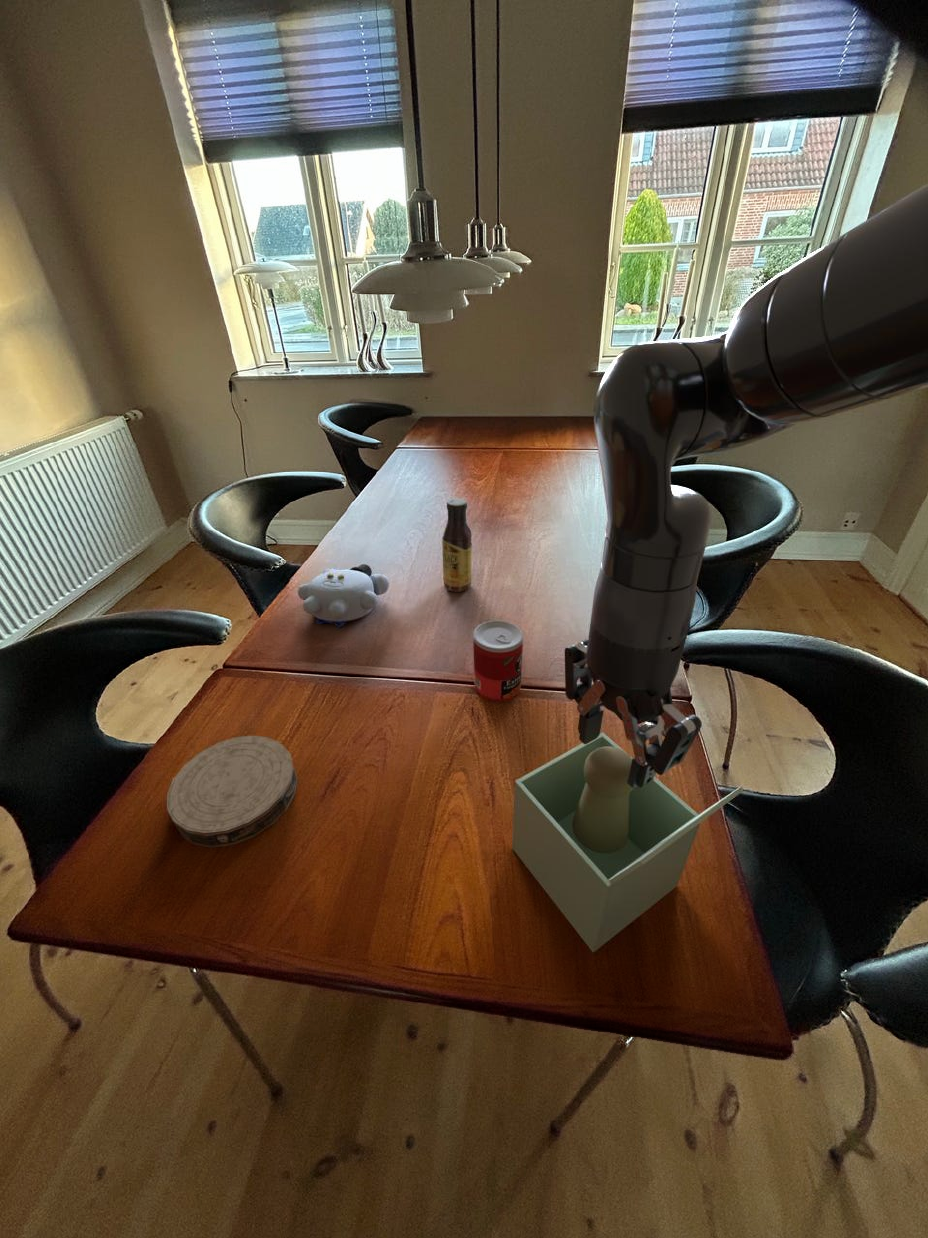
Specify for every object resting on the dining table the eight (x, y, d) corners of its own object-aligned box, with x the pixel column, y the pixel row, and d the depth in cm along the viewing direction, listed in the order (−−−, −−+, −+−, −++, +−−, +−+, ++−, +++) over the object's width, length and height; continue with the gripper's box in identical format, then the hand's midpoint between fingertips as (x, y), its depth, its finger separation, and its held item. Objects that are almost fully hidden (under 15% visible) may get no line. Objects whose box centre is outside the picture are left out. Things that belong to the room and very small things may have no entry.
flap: (702, 812, 53) (705, 815, 53) (608, 880, 47) (611, 885, 47) (740, 786, 47) (744, 790, 47) (639, 860, 42) (643, 864, 42)
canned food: (509, 709, 84) (511, 654, 78) (465, 693, 88) (463, 640, 81) (528, 680, 90) (531, 627, 84) (486, 667, 93) (485, 615, 87)
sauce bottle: (438, 585, 117) (432, 500, 106) (460, 576, 120) (457, 492, 109) (456, 597, 113) (452, 509, 102) (478, 587, 116) (477, 501, 105)
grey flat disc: (183, 764, 77) (176, 749, 75) (296, 739, 80) (291, 725, 79) (163, 862, 64) (155, 848, 62) (298, 828, 68) (293, 813, 66)
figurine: (363, 637, 101) (403, 594, 118) (359, 597, 97) (400, 558, 114) (284, 625, 105) (332, 585, 122) (276, 586, 101) (328, 550, 118)
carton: (677, 885, 60) (702, 817, 53) (593, 953, 54) (608, 887, 47) (591, 798, 70) (602, 732, 63) (512, 848, 64) (514, 781, 57)
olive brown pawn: (571, 849, 56) (581, 780, 50) (572, 801, 61) (581, 734, 55) (630, 857, 55) (647, 789, 49) (626, 808, 60) (641, 740, 54)
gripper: (545, 593, 46) (536, 731, 55) (681, 684, 36) (642, 834, 45) (608, 569, 49) (589, 703, 59) (750, 646, 39) (699, 793, 48)
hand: (612, 759), depth 52 cm, fingers open, 6 cm apart
